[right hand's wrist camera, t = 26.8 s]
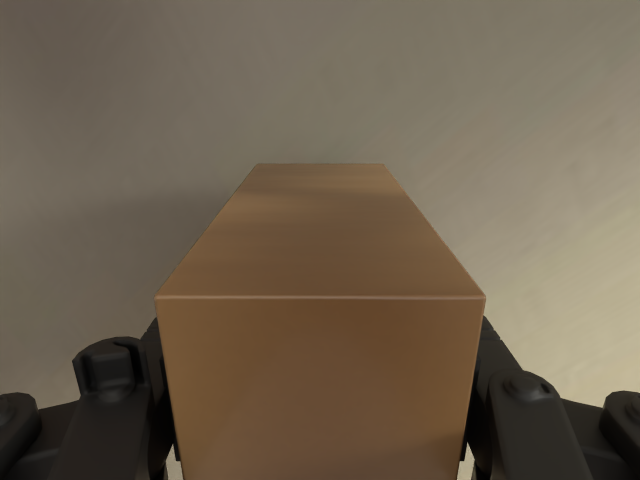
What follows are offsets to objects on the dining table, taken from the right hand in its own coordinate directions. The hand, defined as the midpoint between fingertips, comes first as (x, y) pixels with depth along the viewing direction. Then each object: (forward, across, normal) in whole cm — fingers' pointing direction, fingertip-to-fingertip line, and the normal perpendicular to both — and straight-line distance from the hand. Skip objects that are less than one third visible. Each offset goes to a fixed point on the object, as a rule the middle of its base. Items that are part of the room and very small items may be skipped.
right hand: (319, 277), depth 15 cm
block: (+3, 0, 0) cm, 3 cm away
